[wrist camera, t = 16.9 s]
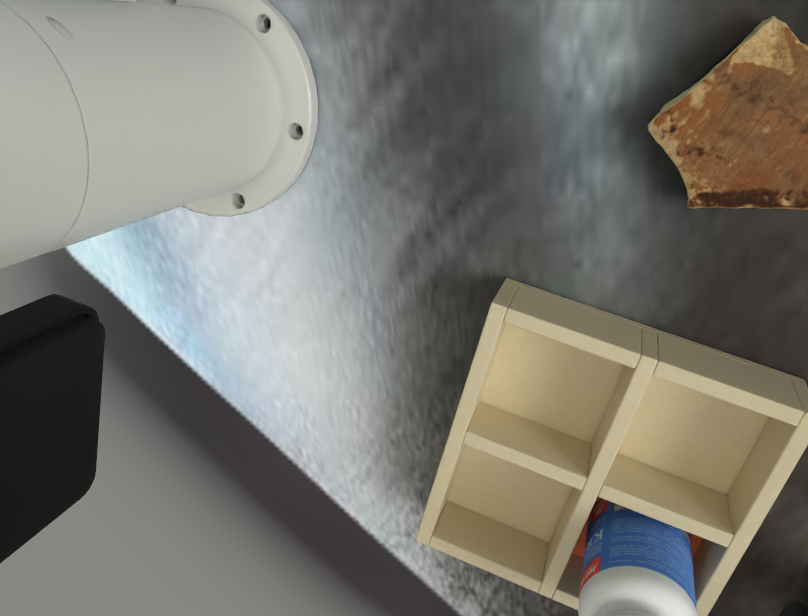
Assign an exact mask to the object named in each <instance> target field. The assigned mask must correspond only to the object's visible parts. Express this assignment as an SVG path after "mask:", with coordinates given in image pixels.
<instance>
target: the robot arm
mask: <svg viewBox="0 0 808 616" xmlns="http://www.w3.org/2000/svg"><path fill="white" fill-rule="evenodd" d="M269 20H270V22H271V27H270V28H269V27H268V21H269ZM317 122H318V98H317V90H316V82H315V78H314V75H313V71H312V68H311V64H310V61H309V58H308V56H307V54H306V51H305V49H304V47H303V45H302V43H301V41H300V39H299V37H298V35H297V34H296V32H295V31H294V29H293V28H292V27H291V25H290V24H289V22H288V21H287V20H286V18H285V17H284V16H283V15H282V14H281V13H280V12H279V11H278V10H277V9H276V8H275V7H274V6H273V5H272V4H271V3H270V2H269V1H268V0H137V1H136V2H125V1H114V0H0V269H1V268H4V267H7V266H10V265H12V264H16V263H19V262H21V261H24V260H27V259H30V258H32V257H35V256H38V255H40V254H44V253H47V252H51V251H54V250H57V249H60V248H63V247H66V246H69V245H72V244H74V243H77V242H80V241H83V240H86V239H89V238H92V237H94V236H97V235H100V234H103V233H106V232H109V231H112V230H114V229H117V228H120V227H123V226H126V225H129V224H132V223H134V222H137V221H140V220H143V219H146V218H149V217H152V216H154V215H157V214H160V213H163V212H166V211H169V210H172V209H174V208H177V207H180V206H183V207H185V208H187V209H189V210H192V211H194V212H198V213H202V214H206V215H210V216H235V215H240V214H246V213H249V212H252V211H254V210H257V209H259V208H262V207H264V206H266V205H267V204H269V203H271V202H273V201H274V200H276V199H278V198H279V197H280V196H281V195H282V194H283V193H285V192H286V191H287V190H288V189H289V188H290V187H291V186H292V185H293V184H294V182H295V181H296V179H297V178H298V177H299V175H300V174H301V172H302V171H303V170H304V167H305V165H306V163H307V161H308V158H309V156H310V154H311V152H312V149H313V144H314V140H315V136H316V131H317ZM300 126H301V127H302V129H303V134H301V133H300V131H299V127H300ZM242 197H243V198H244V200H243V198H242ZM104 339H105V329H104V327H103V324H101V323H100V322H99V317H98V315H97V313H96V311H95V310H94V309H93V308H91V307H89V306H86V305H84V304H81V303H79V302H76V301H73V300H71V299H68V298H66V297H63V296H61V295H56V294H53V295H49V296H46V297H43V298H41V299H39V300H36V301H34V302H31V303H29V304H27V305H24V306H22V307H19V308H17V309H15V310H13V311H10V312H8V313H5V314H3V315H0V563H1V562H2V561H4V560H5V559H6V558H7V557H9V556H10V555H11V554H12V553H14V552H15V551H16V550H17V549H19V548H20V547H21V546H22V545H24V544H25V543H26V542H27V541H29V540H30V539H31V538H32V537H34V536H35V535H36V534H37V533H38V532H40V531H41V530H42V529H43V528H45V527H46V526H47V525H48V524H50V523H51V522H52V521H53V520H55V519H56V518H57V517H58V516H60V515H61V514H62V513H63V512H64V511H66V510H67V509H68V508H70V507H71V506H72V505H73V504H74V503H76V502H77V501H78V500H80V499H81V498H82V497H83V496H84V495H85V494H86V492H87V491H88V490H89V488H90V487H91V484H92V483H93V480H94V478H95V473H96V460H97V446H98V431H99V415H100V401H101V385H102V371H103V354H104ZM779 616H808V599H807V600H806V601H805V602H804V603H803V604H800V603H798V602H795V601H791V602H789V603H788V604H787V605H786V606H785V607H784V608H783V610H782V611H781V613H780V614H779Z"/></svg>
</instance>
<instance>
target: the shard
mask: <svg viewBox="0 0 808 616" xmlns="http://www.w3.org/2000/svg"><path fill="white" fill-rule="evenodd" d="M648 131H649V132H650V134H651V135H652V136H653V137H654V139H655V140H656V142H658V143H659V145H661V146H662V147H663V149H664V151H665V152H666V153H667V154H668V156H669V157H670V159H671V160H672V161H673V162H674V164H675V165H676V167H677V168H678V170H679V171H680V174H681V177H682V178H683V181H684V183H685V186H686V188H687V195H688V207H689V208H695V209H696V208H701V207H706V208H712V207H721V208H735V209H736V208H751V207H755V208H762V209H766V208H792V209H808V45H805V44H803V43H801V42H800V41H799V40H798V39H797V37H796V36H795V35H794V33H793V32H792V31H791V30H790V28H789V27H788V26H787V24H786V23H784V22H782V21H780V20H778V19H777V18H775V17H774V16H771V17H770V18H769V19H768V20H763V21H762V22H761V23H760V24H759V25H758V26H757V27H756V28H755V29H754V30H753V32H752V33H751V34H749V35H748V36H747V37H746V38H745V39H744V40H743V41H742V42H741V43H740V44H739V45H738V46H737V47H736V48H735V49H734V50H733V51H732V52H731V53H730V54H729V55H728V56H727V57H726V58H725V59H724V60H722V61H721V62H720V63H719V64H717V65H716V66H715V67H714V68H713V69H712V70H711V71H710V72H709V73H708V74H707V75H706V76H704V77H703V78H702V79H701V80H700V81H699V82H697V83H696V84H694V85H693V86H692V87H691V88H689V89H688V90H686V91H684V92H682V93H681V94H680V95H679V96H677V97H676V98H674V99H672V100H671V101H669V102H668V103H666V104H665V105H664V106H663V107H662V108H661V111H660V112H659V113H658V114H657V115H656V116H655V117H654V118H653V119H652V121H651V122H650V123H649V124H648Z"/></svg>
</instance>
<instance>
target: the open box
mask: <svg viewBox="0 0 808 616" xmlns="http://www.w3.org/2000/svg"><path fill="white" fill-rule="evenodd" d="M807 445H808V387H807V384H806V382H805V380H804V379H802V378H799V377H796V376H793V375H790V374H787V373H784V372H781V371H778V370H775V369H773V368H770V367H767V366H764V365H761V364H758V363H755V362H752V361H749V360H746V359H743V358H740V357H737V356H734V355H732V354H729V353H726V352H723V351H720V350H717V349H714V348H711V347H708V346H705V345H702V344H699V343H696V342H694V341H691V340H688V339H685V338H682V337H679V336H676V335H673V334H670V333H667V332H664V331H661V330H658V329H655V328H653V327H650V326H647V325H644V324H641V323H638V322H635V321H632V320H629V319H626V318H623V317H620V316H617V315H615V314H612V313H609V312H606V311H603V310H600V309H597V308H594V307H591V306H588V305H585V304H582V303H579V302H576V301H574V300H571V299H568V298H565V297H562V296H559V295H556V294H553V293H550V292H547V291H544V290H541V289H538V288H536V287H533V286H530V285H527V284H524V283H521V282H518V281H515V280H512V279H509V278H506V279H505V281H504V283H503V284H502V286H501V288H500V289H499V291H498V293H497V294H496V296H495V298H494V299H493V301H492V303H491V306H490V309H489V312H488V315H487V318H486V321H485V324H484V327H483V330H482V334H481V337H480V340H479V343H478V346H477V349H476V352H475V355H474V358H473V362H472V365H471V368H470V371H469V374H468V377H467V380H466V383H465V386H464V390H463V393H462V396H461V399H460V402H459V405H458V408H457V411H456V414H455V418H454V421H453V424H452V427H451V430H450V433H449V436H448V439H447V442H446V446H445V449H444V452H443V455H442V458H441V461H440V464H439V467H438V470H437V474H436V477H435V480H434V483H433V486H432V489H431V492H430V495H429V498H428V502H427V505H426V508H425V511H424V514H423V517H422V520H421V523H420V526H419V530H418V533H417V536H416V539H415V540H416V541H417V542H420V543H422V544H424V545H427V546H428V545H429V546H430V547H432V548H434V549H437V550H439V551H441V552H444V553H446V554H448V555H451V556H453V557H455V558H458V559H460V560H462V561H465V562H467V563H469V564H472V565H474V566H476V567H479V568H481V569H483V570H486V571H488V572H490V573H493V574H495V575H497V576H500V577H502V578H504V579H507V580H509V581H511V582H514V583H516V584H518V585H521V586H523V587H525V588H528V589H530V590H532V591H535V592H538V593H539V594H542V595H544V596H546V597H549V598H552V599H553V600H555V601H558V602H560V603H562V604H565V605H567V606H569V607H572V608H574V609H576V610H578V606H579V593H580V585H581V578H582V570H583V562H584V553H585V545H586V536H587V527H588V522H589V519H590V516H591V513H592V512H593V510H594V508H595V507H596V506H597V505H598V503H599V502H601V501H602V500H603V499H605V500H608V501H610V502H613V503H615V504H618V505H620V506H623V507H626V508H628V509H631V510H633V511H636V512H638V513H641V514H643V515H646V516H648V517H651V518H653V519H656V520H659V521H661V522H664V523H666V524H669V525H671V526H674V527H676V528H679V529H681V530H684V531H686V532H689V533H690V539H691V549H692V563H693V575H694V588H695V599H696V609H697V616H708V614H709V612H710V610H711V609H712V607H713V605H714V604H715V602H716V600H717V598H718V597H719V595H720V593H721V592H722V590H723V588H724V587H725V585H726V583H727V581H728V580H729V578H730V576H731V575H732V573H733V571H734V570H735V568H736V566H737V564H738V563H739V561H740V559H741V558H742V556H743V554H744V552H745V551H746V549H747V547H748V546H749V544H750V542H751V541H752V539H753V537H754V535H755V534H756V532H757V530H758V529H759V527H760V525H761V523H762V522H763V520H764V518H765V517H766V515H767V513H768V512H769V510H770V508H771V506H772V505H773V503H774V501H775V500H776V498H777V496H778V495H779V493H780V491H781V489H782V488H783V486H784V484H785V483H786V481H787V479H788V477H789V476H790V474H791V472H792V471H793V469H794V467H795V466H796V464H797V462H798V460H799V459H800V457H801V455H802V454H803V452H804V450H805V448H806V447H807Z"/></svg>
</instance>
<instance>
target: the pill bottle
mask: <svg viewBox="0 0 808 616" xmlns="http://www.w3.org/2000/svg"><path fill="white" fill-rule="evenodd" d="M578 615H579V616H697V609H696V599H695V588H694V575H693V563H692V549H691V539H690V533H689V532H686V531H684V530H681V529H679V528H676V527H674V526H671V525H669V524H666V523H664V522H661V521H659V520H656V519H653V518H651V517H648V516H646V515H643V514H641V513H638V512H636V511H633V510H631V509H628V508H626V507H623V506H620V505H618V504H615V503H613V502H610V501H608V500H605V499H603V500H602V501H601V502H599V503H598V505H597V506H596V507H595V508H594V510H593V512H592V513H591V516H590V519H589V522H588V527H587V536H586V545H585V553H584V562H583V570H582V578H581V585H580V593H579V606H578Z"/></svg>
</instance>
